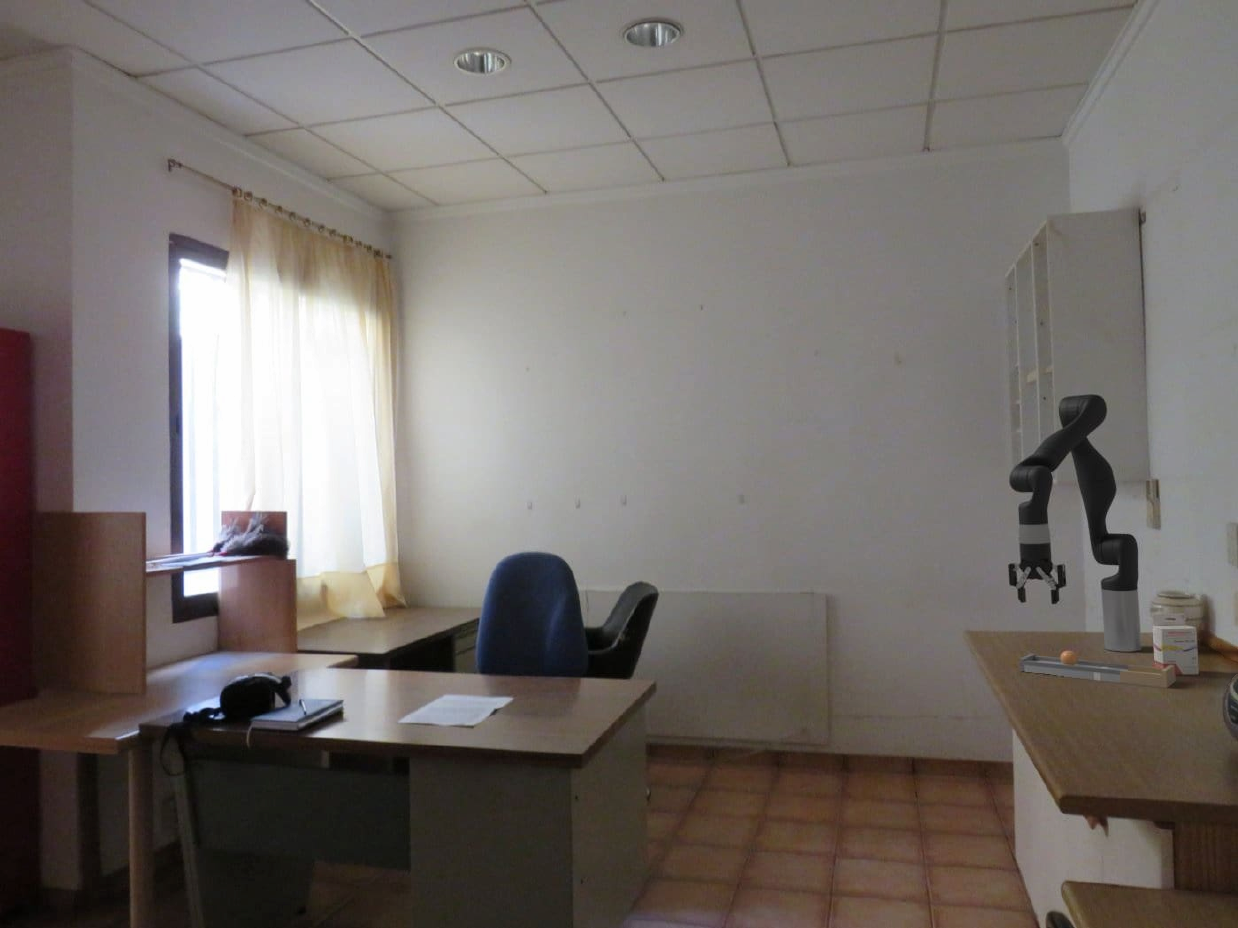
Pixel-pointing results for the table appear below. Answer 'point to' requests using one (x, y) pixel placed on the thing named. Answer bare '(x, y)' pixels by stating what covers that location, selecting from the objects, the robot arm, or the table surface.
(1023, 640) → the table surface
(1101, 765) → the table surface
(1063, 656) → the ball
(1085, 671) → the lane
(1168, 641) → the ink cartridge box
